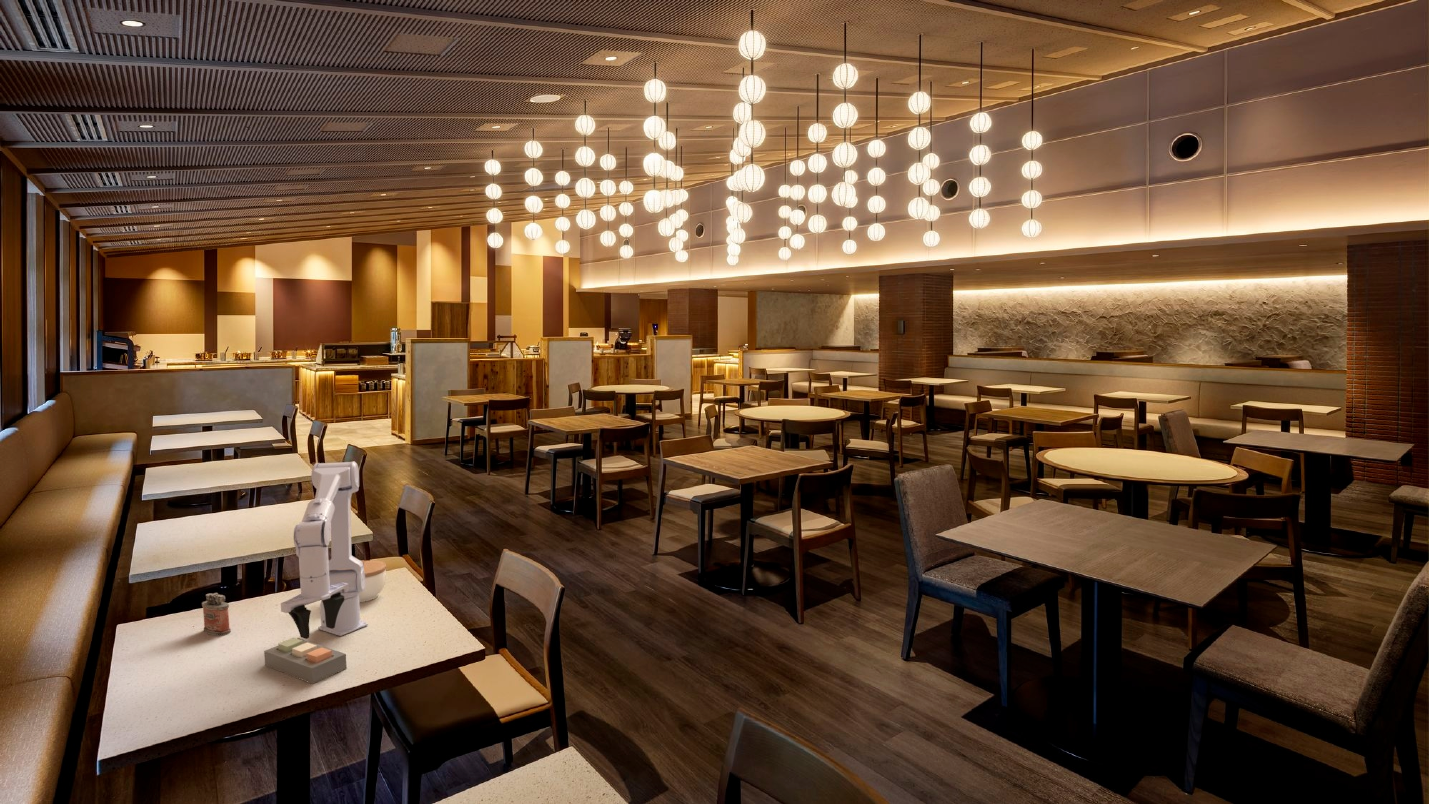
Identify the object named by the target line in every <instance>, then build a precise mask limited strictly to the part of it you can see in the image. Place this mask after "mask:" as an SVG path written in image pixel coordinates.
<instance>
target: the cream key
mask: <svg viewBox="0 0 1429 804" xmlns="http://www.w3.org/2000/svg"><path fill="white" fill-rule="evenodd" d="M316 649H317V645H314V644H311V643H308V642H307V643H305V644H302V645H299V646H297V647H294V648H292V655H293V656H296V657H299V658H303V657H306V656H307V655H306V653H309V652H311V651H314V650H316Z"/></svg>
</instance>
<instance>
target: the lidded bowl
mask: <svg viewBox="0 0 1429 804" xmlns="http://www.w3.org/2000/svg"><path fill="white" fill-rule="evenodd" d="M360 561H361V562H363V564H364V572H365V587H364V590H363V591H362V592H361V593H359V603H365V601H366V602H369V601H371V600H372V599H373V600H375V599H376V598H377V597H378V595H379V594H380V593H381V592H382V590H383V588H384V587H385V584H386V580H387V579H386V577H387V575H386V574H387V571H386V570H387V565H386V562H383V561H380V560H364V559H363V560H361V559H360ZM340 570H347V569H340ZM373 600H372V601H373Z"/></svg>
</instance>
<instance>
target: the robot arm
mask: <svg viewBox="0 0 1429 804" xmlns="http://www.w3.org/2000/svg"><path fill="white" fill-rule="evenodd" d="M311 484H312V486H314V488H315V489H316V492H315V496H314V499H312V500H310V501H309V502H308V503H307V506H306V509H305V511H304V514H303V517H302V520H301V522H299V524H295V526H294V530H293V543H294V544H293V545H294V547H295V552H296V553H295V554H296V557H298V567H299V568H298V569H299V582H300V586H299V587H300V594H297V595H295V596H293V597H291V598H290V599H288V600H286V601H283V602H281V603H280V612H282V613H285V614H289V616H290V617H291V619H292V620H293V622H294V624H295V625H296V627H297V630H298V632H299V633H298V634H299V636H300V637H299V638H300V639H303V640H307V639H309V638H310V618H311V613H312V610H311V609H308V608H307V607H306V606H308V605H311V604H314V603H316V602H319V601H320V603H319V606H320V608H319V609H320V626H318V627H317V629H318V630H321V631H324V632H327V633H330V634H332V635H337V636H339V637H343V636H344V635H345V636H346V634H349V633H352V632H354V631H357V630H359V629H361V628H364V627H367V626H368V625H369V623H368V622H366V621H362V620H361V609H360V606H361V605H360V602H359V593H361V592H362V591H363V590H364V587H365V572H364V564H363V562H361V559H358V558H357V557H355V556H353V555H352V515H351V514H352V510H351V507H352V495H353V493H357V492H358V491H359V487H360V469H359V465H358V463H357V462H356V461H344V462H343V461H342V462H325V463H324V462H321V463H320V462H315V463H314V465H313V466H312V469H311ZM329 545H330V547H331V550H330V551H331V553H330V554H331V558H330V559H329V547H328V546H329ZM340 569H347V570H340Z"/></svg>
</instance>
